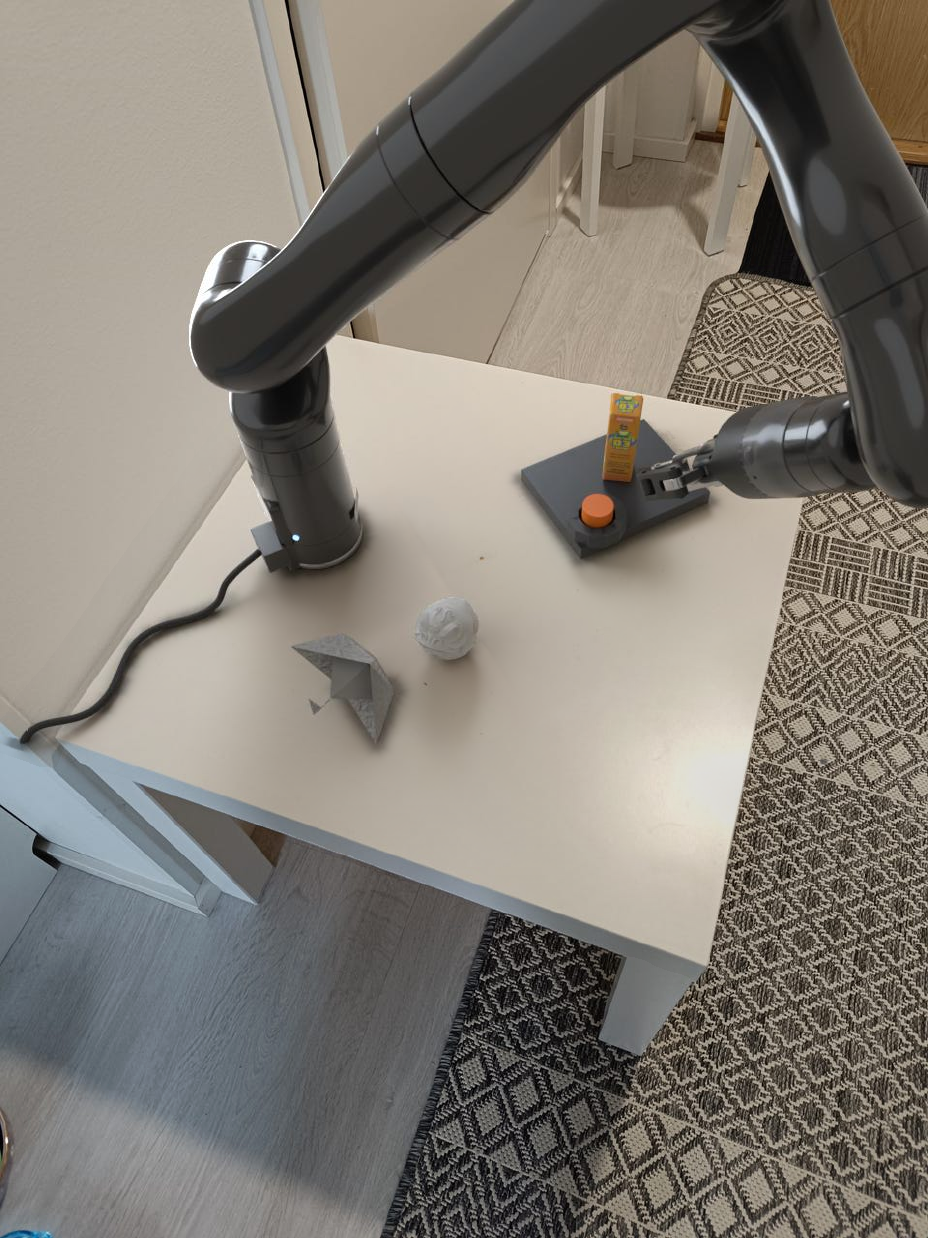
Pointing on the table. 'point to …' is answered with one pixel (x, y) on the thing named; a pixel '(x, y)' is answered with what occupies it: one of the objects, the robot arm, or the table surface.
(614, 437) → the supplement box
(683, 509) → the scale
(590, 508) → the tare button
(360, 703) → the gray faceted winged figurine
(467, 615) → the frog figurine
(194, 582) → the table surface
